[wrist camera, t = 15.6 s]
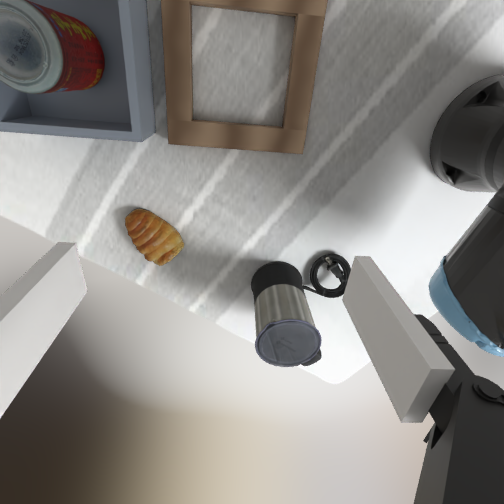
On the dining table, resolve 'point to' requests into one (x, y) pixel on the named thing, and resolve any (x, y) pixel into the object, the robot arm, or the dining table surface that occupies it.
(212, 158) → the dining table surface
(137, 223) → the pastry
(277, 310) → the milk frother
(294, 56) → the collar block
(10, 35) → the soda can
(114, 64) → the bin
